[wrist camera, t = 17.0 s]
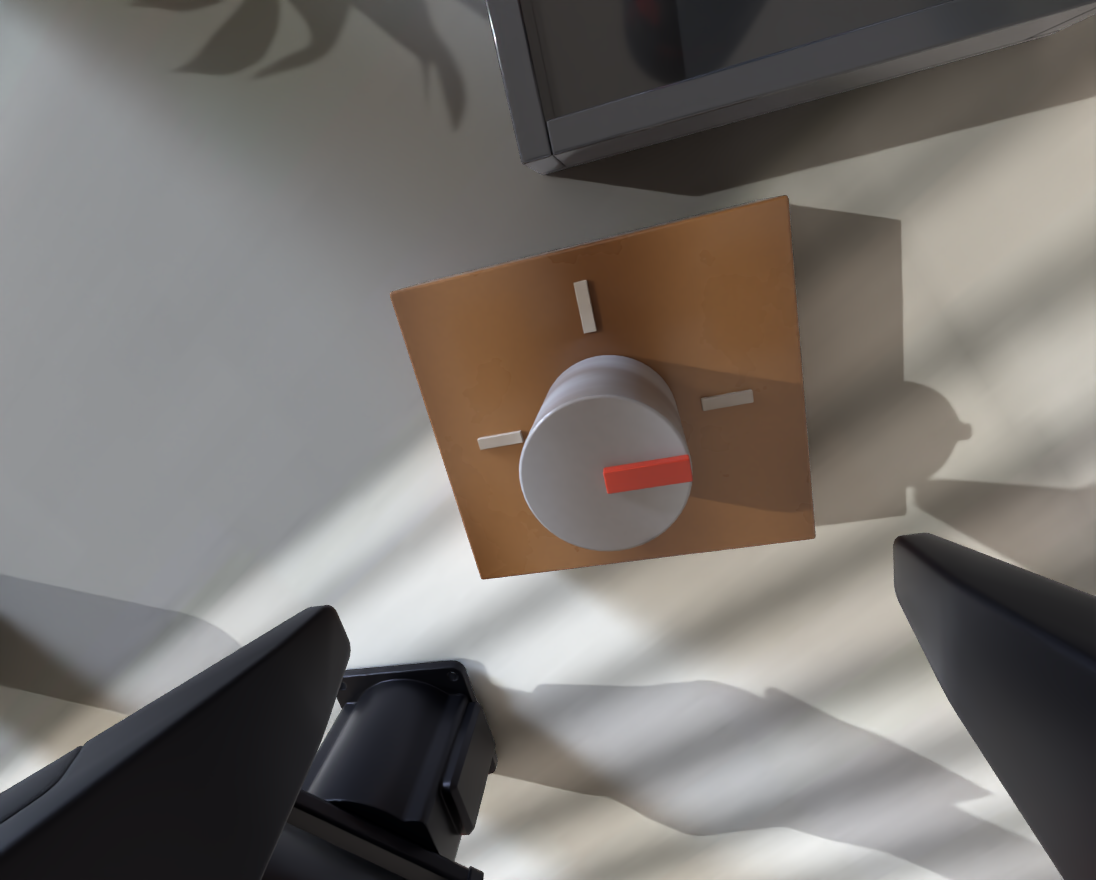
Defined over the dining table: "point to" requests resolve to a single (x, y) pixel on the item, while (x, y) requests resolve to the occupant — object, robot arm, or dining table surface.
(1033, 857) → the dining table surface
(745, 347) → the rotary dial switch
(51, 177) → the dining table surface
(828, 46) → the dark square tray
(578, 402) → the tap knob
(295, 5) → the dining table surface
